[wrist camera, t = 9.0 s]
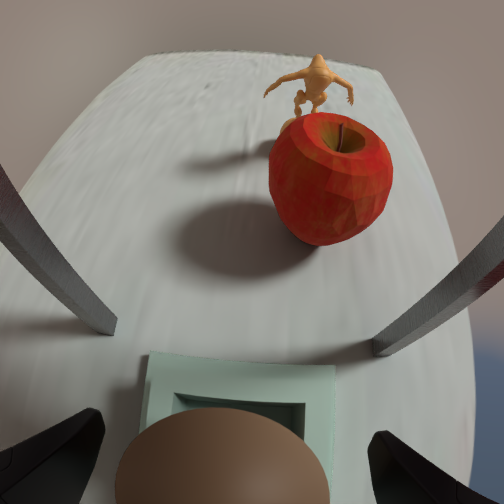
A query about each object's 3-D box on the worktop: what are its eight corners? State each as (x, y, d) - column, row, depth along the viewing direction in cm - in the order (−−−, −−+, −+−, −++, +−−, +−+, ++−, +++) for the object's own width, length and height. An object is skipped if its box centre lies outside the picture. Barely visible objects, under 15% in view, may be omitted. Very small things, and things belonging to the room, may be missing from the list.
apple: (355, 203, 27) (394, 107, 18) (363, 283, 22) (429, 187, 13) (266, 189, 27) (278, 83, 18) (254, 270, 23) (267, 156, 14)
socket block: (322, 528, 12) (347, 553, 8) (137, 514, 12) (109, 535, 8) (330, 367, 19) (357, 349, 15) (154, 354, 19) (130, 332, 14)
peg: (246, 497, 13) (253, 604, 2) (183, 460, 14) (82, 503, 4) (286, 443, 15) (367, 466, 5) (224, 406, 16) (189, 366, 6)
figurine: (328, 141, 32) (351, 48, 22) (341, 177, 29) (375, 72, 19) (256, 138, 32) (264, 38, 21) (260, 174, 28) (270, 58, 18)
